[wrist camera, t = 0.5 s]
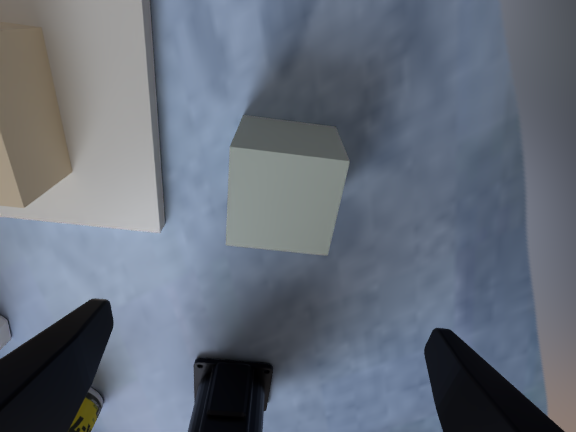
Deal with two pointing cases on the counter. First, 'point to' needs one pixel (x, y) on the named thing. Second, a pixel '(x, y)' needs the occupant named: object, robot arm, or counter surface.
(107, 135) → the build base
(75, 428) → the supplement bottle
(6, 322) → the pepper shaker
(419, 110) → the counter surface
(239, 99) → the counter surface
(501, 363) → the counter surface
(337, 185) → the sage cube
